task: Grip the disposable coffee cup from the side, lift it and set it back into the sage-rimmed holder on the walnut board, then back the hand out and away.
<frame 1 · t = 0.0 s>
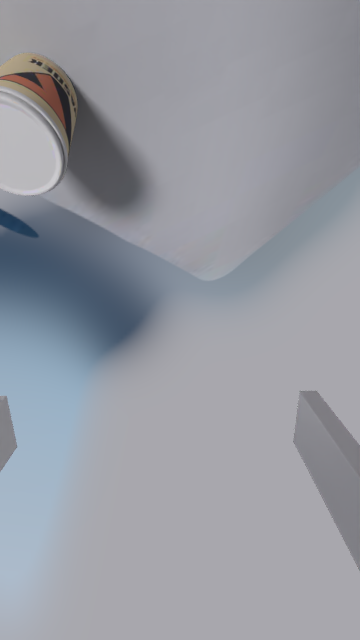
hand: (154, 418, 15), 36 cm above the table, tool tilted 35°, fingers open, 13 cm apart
coffee cup: (42, 95, 35), on the table
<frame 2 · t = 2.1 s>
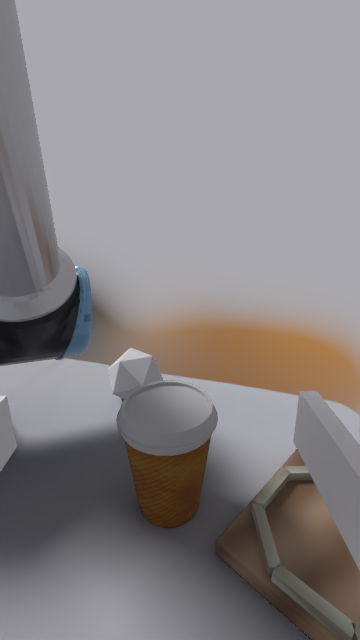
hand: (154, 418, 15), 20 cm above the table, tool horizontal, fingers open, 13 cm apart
disposable coffee cup: (169, 501, 34), on the table
cup holder board: (340, 550, 29), on the table
die: (137, 398, 53), on the table
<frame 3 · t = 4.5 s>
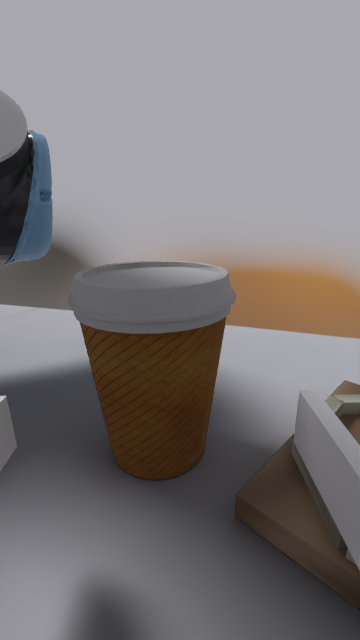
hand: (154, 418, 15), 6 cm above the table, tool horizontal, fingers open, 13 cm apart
disposable coffee cup: (159, 446, 22), on the table
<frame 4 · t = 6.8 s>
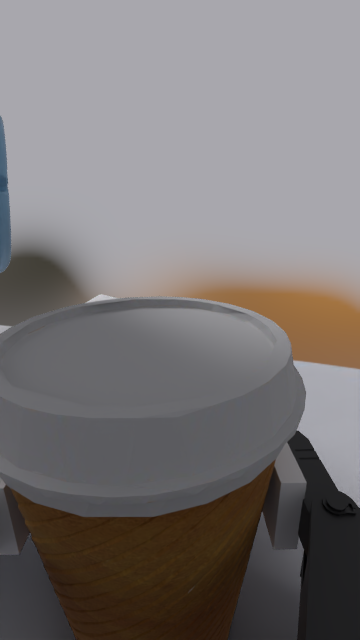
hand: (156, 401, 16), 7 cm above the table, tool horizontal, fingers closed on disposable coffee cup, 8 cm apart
disposable coffee cup: (155, 601, 14), on the table, touching gripper
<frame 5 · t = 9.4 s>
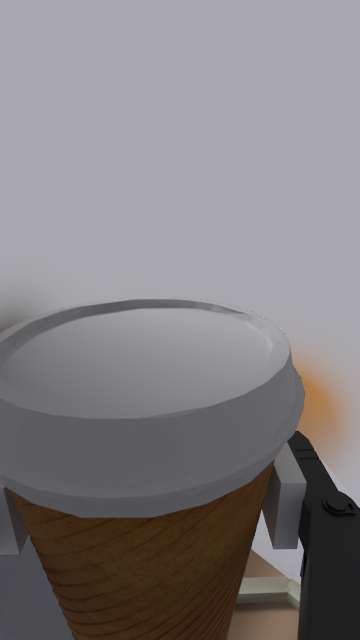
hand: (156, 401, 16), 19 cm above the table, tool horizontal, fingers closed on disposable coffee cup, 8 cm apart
disposable coffee cup: (155, 602, 14), point 12 cm above the table, touching gripper
when the fingers open (9 cm above the table, at t = 12.0 s): disposable coffee cup drops 1 cm, resting on cup holder board.
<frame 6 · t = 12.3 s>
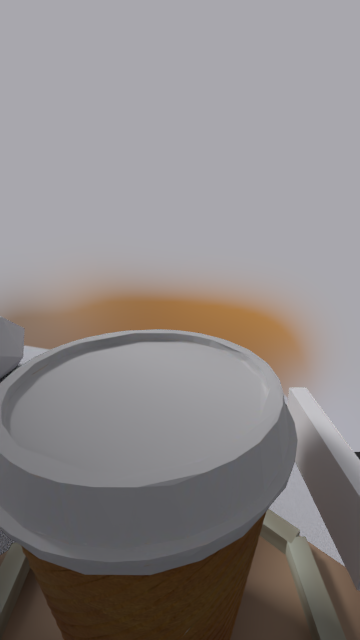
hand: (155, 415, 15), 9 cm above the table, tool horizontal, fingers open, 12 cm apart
disposable coffee cup: (154, 626, 14), point 1 cm above the table, touching cup holder board
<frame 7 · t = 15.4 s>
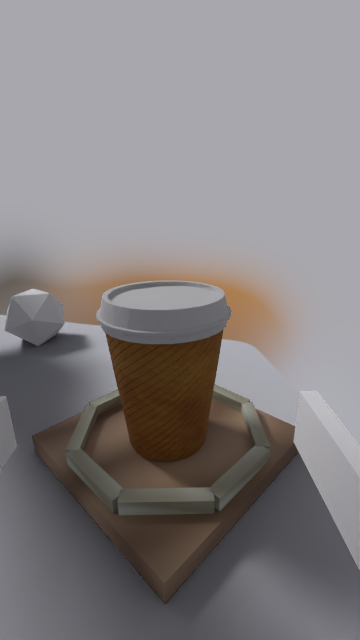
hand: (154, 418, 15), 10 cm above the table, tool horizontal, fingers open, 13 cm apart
disposable coffee cup: (167, 436, 27), point 1 cm above the table, touching cup holder board
cup holder board: (169, 448, 27), on the table
die: (39, 340, 51), on the table
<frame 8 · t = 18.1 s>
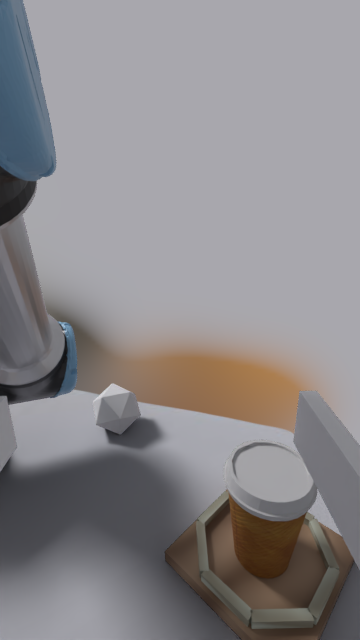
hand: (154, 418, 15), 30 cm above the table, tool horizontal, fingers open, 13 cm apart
disposable coffee cup: (261, 551, 37), point 1 cm above the table, touching cup holder board
cup holder board: (261, 558, 38), on the table
die: (117, 426, 62), on the table
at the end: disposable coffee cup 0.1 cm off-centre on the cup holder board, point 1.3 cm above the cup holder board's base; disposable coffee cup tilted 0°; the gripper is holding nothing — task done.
